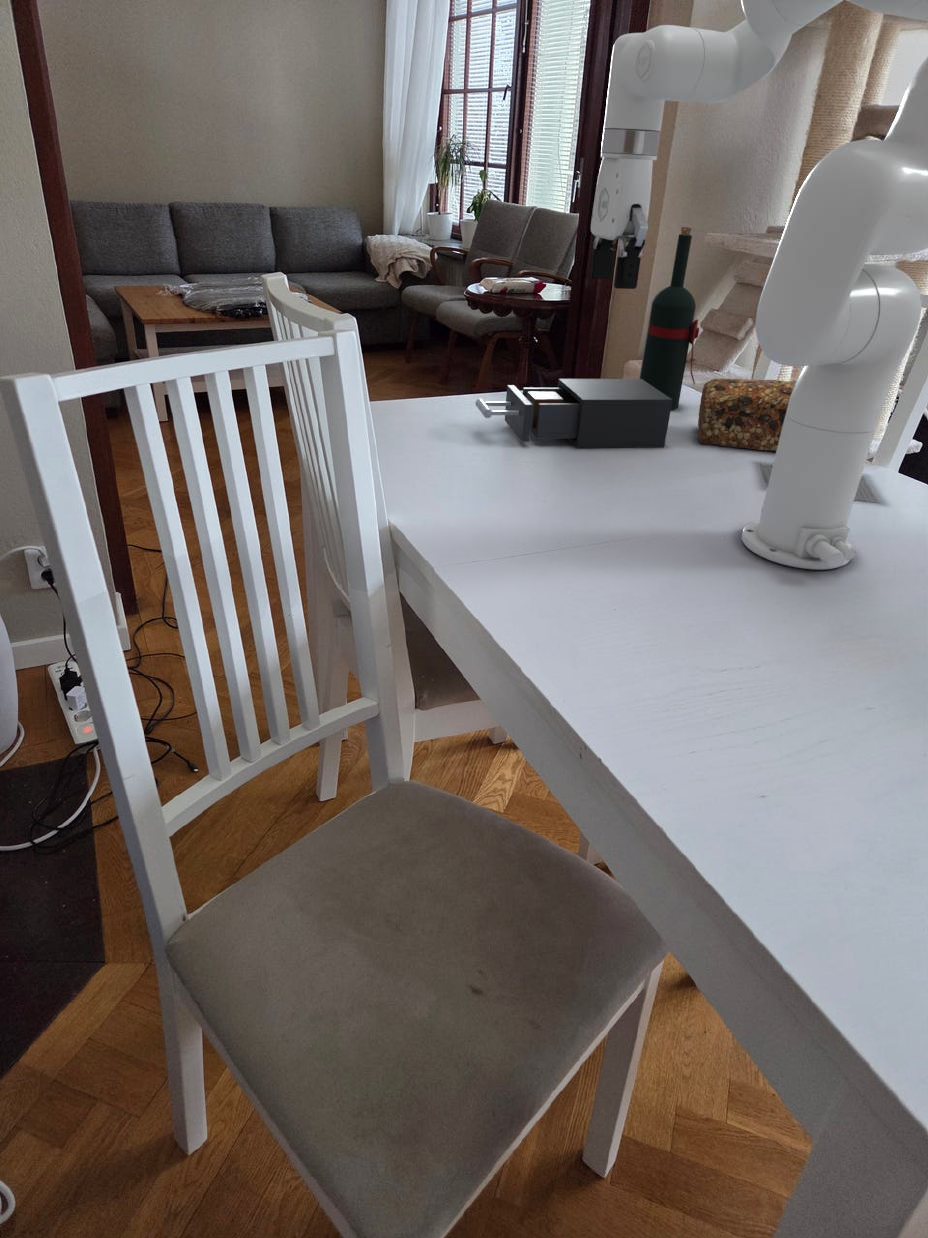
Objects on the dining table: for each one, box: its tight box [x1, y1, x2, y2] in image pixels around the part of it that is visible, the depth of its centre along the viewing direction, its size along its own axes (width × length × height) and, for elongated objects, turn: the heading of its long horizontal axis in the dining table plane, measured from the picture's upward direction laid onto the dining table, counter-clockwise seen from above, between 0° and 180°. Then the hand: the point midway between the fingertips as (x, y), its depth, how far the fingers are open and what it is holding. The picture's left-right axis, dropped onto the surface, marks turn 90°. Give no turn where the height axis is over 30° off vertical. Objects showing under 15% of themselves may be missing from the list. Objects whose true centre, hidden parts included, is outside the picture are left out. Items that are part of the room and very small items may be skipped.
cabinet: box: [557, 378, 672, 449], centre depth 133 cm, size 15×13×8 cm
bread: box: [697, 378, 797, 452], centre depth 133 cm, size 19×11×10 cm, turn 77°
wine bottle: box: [638, 225, 700, 411], centre depth 145 cm, size 8×10×30 cm
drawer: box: [475, 384, 581, 443], centre depth 131 cm, size 19×11×6 cm, turn 101°
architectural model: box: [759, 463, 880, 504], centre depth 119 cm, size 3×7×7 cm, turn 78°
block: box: [527, 392, 563, 428], centre depth 131 cm, size 5×5×5 cm
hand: (612, 283), depth 119 cm, fingers open, 9 cm apart
